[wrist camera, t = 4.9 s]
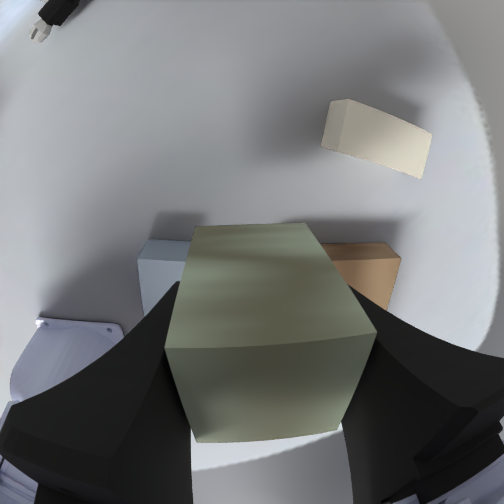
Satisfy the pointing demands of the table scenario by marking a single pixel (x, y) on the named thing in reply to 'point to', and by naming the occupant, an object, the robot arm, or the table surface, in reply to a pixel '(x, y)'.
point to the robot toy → (51, 17)
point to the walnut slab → (366, 268)
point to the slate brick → (160, 269)
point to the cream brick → (376, 137)
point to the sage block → (264, 335)
